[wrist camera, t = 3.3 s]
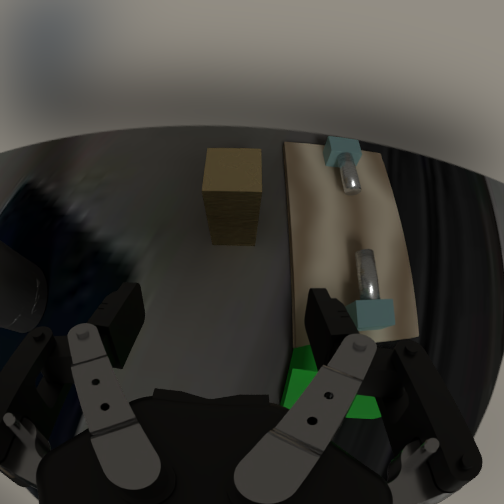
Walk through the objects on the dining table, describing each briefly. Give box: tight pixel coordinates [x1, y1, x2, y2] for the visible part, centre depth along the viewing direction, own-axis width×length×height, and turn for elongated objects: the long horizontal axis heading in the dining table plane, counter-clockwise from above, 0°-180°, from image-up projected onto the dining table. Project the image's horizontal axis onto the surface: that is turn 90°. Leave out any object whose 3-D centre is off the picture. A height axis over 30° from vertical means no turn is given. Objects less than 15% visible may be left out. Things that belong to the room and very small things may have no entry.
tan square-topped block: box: [202, 148, 262, 246], centre depth 26 cm, size 4×4×10 cm
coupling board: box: [283, 136, 419, 348], centre depth 29 cm, size 14×25×4 cm, turn 0°
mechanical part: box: [280, 345, 381, 419], centre depth 21 cm, size 12×6×8 cm, turn 76°
